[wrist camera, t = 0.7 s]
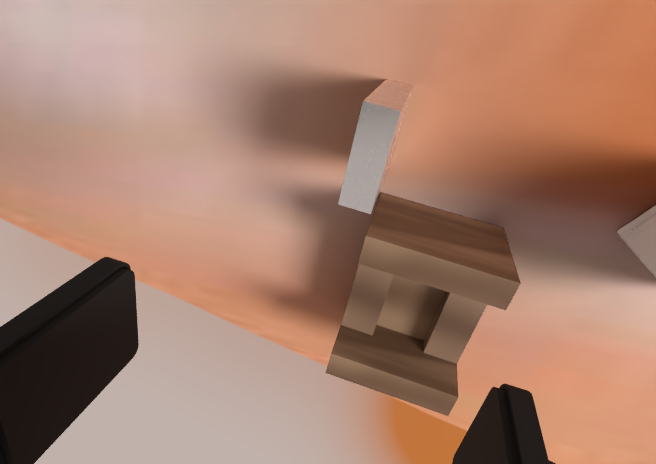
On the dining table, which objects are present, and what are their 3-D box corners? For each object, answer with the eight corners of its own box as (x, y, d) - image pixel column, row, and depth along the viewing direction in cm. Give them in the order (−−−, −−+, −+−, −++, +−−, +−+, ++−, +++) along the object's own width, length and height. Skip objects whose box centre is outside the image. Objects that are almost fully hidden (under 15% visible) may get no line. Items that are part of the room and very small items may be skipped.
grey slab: (386, 79, 30) (362, 100, 21) (413, 86, 29) (400, 111, 21) (365, 157, 32) (337, 204, 24) (390, 163, 32) (370, 214, 24)
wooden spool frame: (381, 192, 33) (365, 235, 26) (503, 228, 32) (520, 283, 25) (345, 312, 40) (325, 372, 33) (446, 345, 38) (448, 415, 32)
